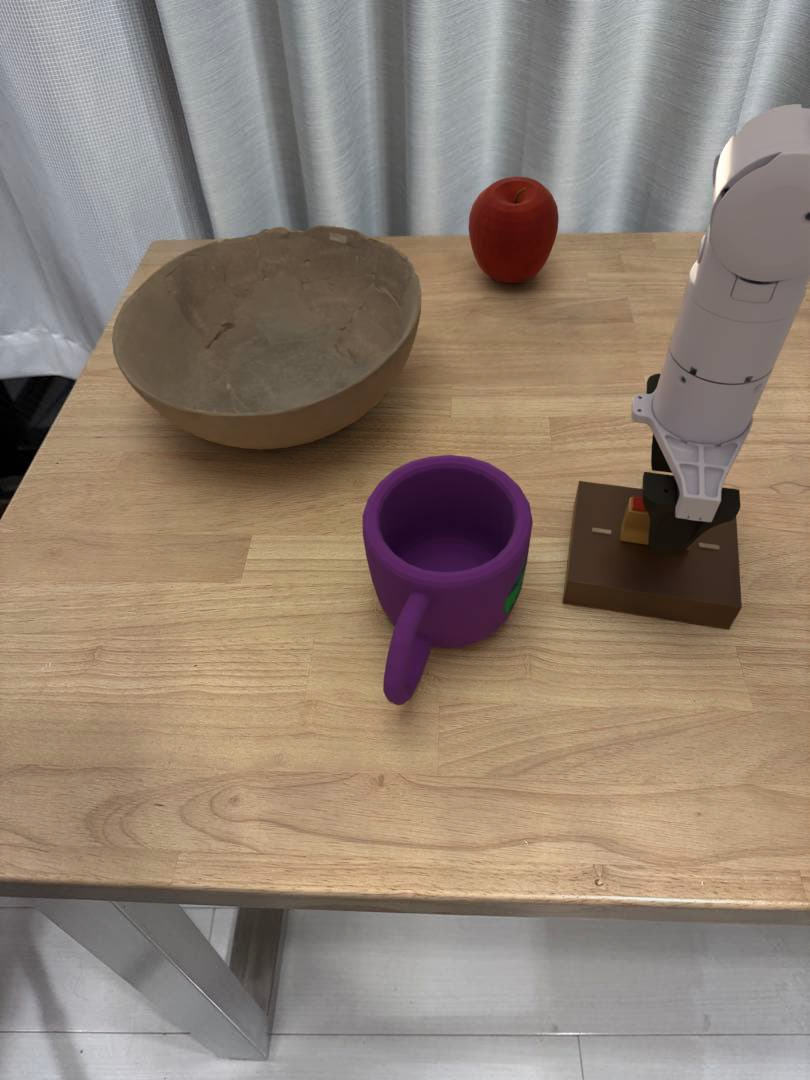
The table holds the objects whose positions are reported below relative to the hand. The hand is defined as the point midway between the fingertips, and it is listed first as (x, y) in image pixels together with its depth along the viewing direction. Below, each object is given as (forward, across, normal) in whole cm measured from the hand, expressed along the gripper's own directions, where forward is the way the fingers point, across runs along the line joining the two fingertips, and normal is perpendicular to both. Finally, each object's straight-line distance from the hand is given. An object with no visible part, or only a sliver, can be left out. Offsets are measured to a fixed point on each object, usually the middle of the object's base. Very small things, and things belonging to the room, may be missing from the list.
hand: (665, 507), depth 51 cm
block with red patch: (+4, 0, 0) cm, 4 cm away
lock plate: (+7, 0, 0) cm, 7 cm away
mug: (+7, +9, -15) cm, 19 cm away
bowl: (+7, -15, -35) cm, 39 cm away
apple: (+7, -38, -16) cm, 42 cm away
